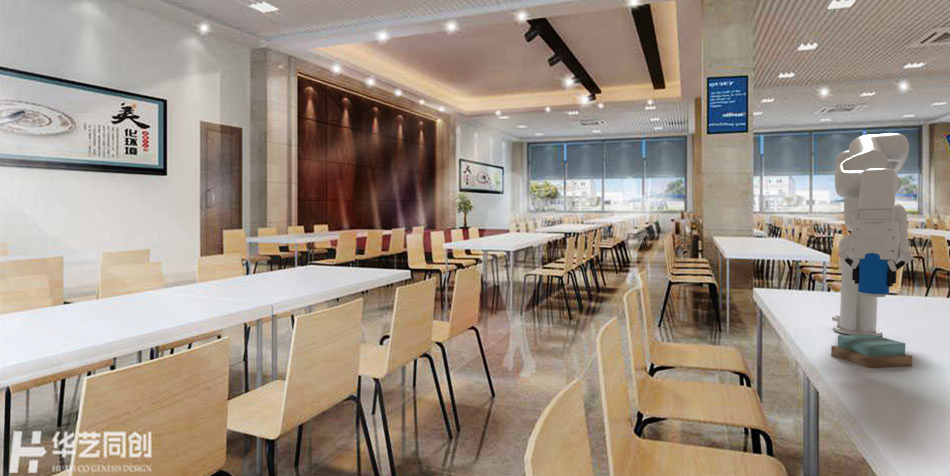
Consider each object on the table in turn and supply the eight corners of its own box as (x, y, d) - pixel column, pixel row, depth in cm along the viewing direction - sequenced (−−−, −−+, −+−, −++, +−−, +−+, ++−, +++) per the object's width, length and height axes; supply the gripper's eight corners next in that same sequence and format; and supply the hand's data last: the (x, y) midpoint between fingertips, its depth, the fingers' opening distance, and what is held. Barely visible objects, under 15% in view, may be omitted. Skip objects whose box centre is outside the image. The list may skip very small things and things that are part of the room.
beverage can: (894, 297, 134) (896, 251, 134) (865, 297, 136) (867, 250, 135) (880, 294, 141) (881, 249, 140) (853, 293, 142) (854, 249, 142)
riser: (831, 354, 144) (831, 335, 144) (869, 352, 146) (870, 333, 145) (870, 368, 132) (871, 346, 132) (911, 365, 134) (912, 344, 134)
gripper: (833, 216, 141) (831, 282, 142) (916, 216, 129) (913, 289, 129) (840, 216, 146) (838, 280, 147) (921, 216, 134) (918, 286, 134)
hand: (873, 284), depth 138 cm, fingers closed on beverage can, 6 cm apart
